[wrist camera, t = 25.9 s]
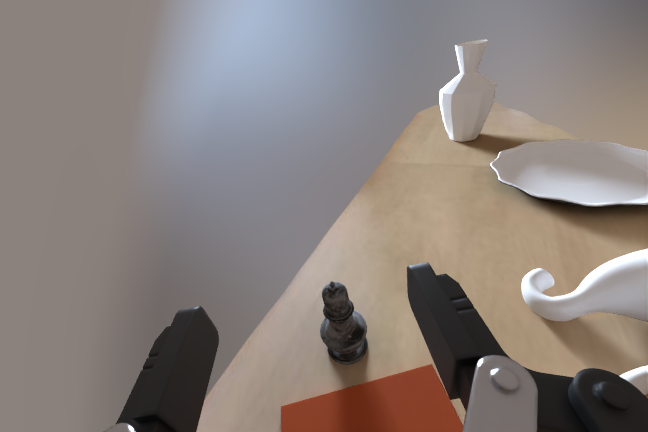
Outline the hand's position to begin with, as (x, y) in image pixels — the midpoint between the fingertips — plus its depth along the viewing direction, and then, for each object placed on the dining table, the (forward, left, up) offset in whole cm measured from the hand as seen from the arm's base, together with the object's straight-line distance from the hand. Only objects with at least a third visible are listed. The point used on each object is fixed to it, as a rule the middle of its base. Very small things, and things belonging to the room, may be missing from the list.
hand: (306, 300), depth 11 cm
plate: (+66, -13, -26) cm, 72 cm away
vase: (+87, +13, -26) cm, 91 cm away
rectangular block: (+5, +3, -26) cm, 27 cm away
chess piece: (+11, +9, -26) cm, 30 cm away
